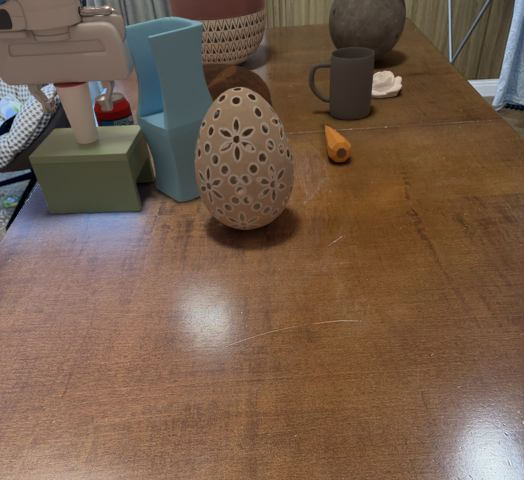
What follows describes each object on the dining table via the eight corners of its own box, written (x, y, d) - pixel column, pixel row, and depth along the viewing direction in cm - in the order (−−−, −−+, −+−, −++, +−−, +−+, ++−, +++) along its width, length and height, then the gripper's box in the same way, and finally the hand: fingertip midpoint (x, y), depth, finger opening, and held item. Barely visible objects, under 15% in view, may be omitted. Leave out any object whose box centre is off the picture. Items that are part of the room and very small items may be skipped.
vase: (152, 186, 92) (116, 28, 75) (196, 168, 97) (171, 15, 79) (181, 204, 87) (150, 37, 69) (226, 184, 91) (208, 23, 74)
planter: (238, 82, 134) (227, -47, 115) (159, 73, 144) (137, -46, 126) (285, 55, 150) (282, -62, 131) (211, 48, 160) (199, -60, 142)
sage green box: (50, 213, 87) (28, 157, 80) (72, 182, 96) (54, 128, 89) (140, 211, 86) (126, 153, 79) (155, 179, 94) (143, 124, 88)
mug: (369, 105, 115) (373, 45, 107) (371, 120, 109) (376, 58, 101) (309, 107, 117) (309, 48, 109) (308, 121, 111) (308, 60, 102)
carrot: (347, 168, 94) (357, 144, 92) (325, 161, 93) (335, 137, 90) (330, 138, 110) (338, 117, 107) (311, 131, 109) (319, 110, 106)
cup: (91, 131, 87) (68, 52, 78) (110, 137, 84) (89, 57, 76) (65, 142, 84) (38, 61, 75) (84, 149, 81) (59, 66, 73)
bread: (130, 128, 114) (120, 86, 108) (179, 89, 133) (173, 51, 126) (249, 135, 107) (246, 91, 101) (283, 92, 125) (282, 53, 119)
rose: (414, 70, 118) (388, 80, 113) (411, 90, 121) (385, 101, 116) (380, 63, 123) (354, 72, 119) (378, 82, 126) (352, 93, 122)
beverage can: (118, 170, 98) (100, 106, 90) (102, 160, 102) (84, 97, 94) (148, 159, 101) (134, 96, 93) (132, 150, 105) (117, 88, 97)
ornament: (197, 249, 76) (173, 111, 62) (210, 202, 87) (191, 75, 73) (294, 247, 75) (291, 106, 61) (295, 199, 85) (293, 70, 71)
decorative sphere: (353, 48, 150) (358, -35, 137) (414, 57, 140) (425, -33, 126) (313, 66, 140) (314, -23, 126) (375, 76, 130) (383, -18, 116)
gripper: (126, 0, 73) (147, 101, 82) (-10, 8, 74) (26, 107, 84) (114, 9, 68) (138, 115, 78) (-30, 18, 70) (11, 121, 79)
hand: (79, 111), depth 81 cm, fingers open, 8 cm apart
